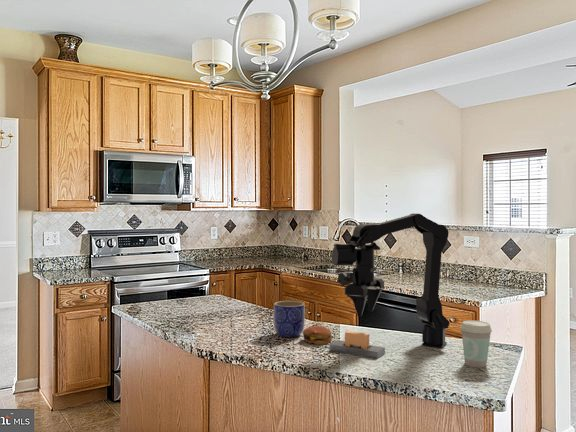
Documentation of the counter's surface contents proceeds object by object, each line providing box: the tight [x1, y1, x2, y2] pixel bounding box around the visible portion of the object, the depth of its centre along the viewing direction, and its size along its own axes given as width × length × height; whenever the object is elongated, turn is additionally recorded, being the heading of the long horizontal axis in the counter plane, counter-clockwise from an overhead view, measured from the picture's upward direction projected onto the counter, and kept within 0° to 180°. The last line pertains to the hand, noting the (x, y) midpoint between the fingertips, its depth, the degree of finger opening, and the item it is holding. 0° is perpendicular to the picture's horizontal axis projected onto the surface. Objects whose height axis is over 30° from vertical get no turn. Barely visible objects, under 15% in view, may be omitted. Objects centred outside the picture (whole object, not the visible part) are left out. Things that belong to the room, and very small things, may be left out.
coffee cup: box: [459, 319, 493, 368], centre depth 147 cm, size 9×9×12 cm
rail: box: [329, 339, 386, 359], centre depth 159 cm, size 16×6×2 cm, turn 58°
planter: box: [273, 300, 306, 338], centre depth 180 cm, size 11×11×11 cm
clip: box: [344, 330, 370, 349], centre depth 159 cm, size 7×2×6 cm, turn 58°
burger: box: [302, 325, 333, 346], centre depth 173 cm, size 10×9×5 cm
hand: (365, 313), depth 162 cm, fingers open, 9 cm apart
